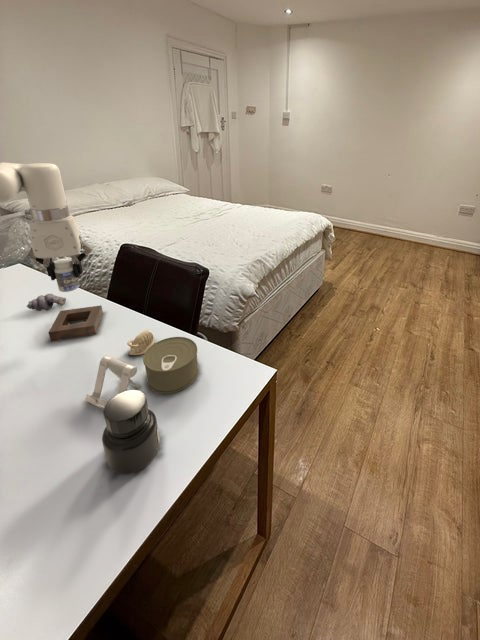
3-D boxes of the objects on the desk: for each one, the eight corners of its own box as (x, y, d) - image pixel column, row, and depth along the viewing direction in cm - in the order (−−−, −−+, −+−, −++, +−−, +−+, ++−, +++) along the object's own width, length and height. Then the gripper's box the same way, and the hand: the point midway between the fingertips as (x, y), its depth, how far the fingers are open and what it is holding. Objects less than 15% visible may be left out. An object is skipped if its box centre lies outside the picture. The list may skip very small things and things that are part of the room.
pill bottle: (67, 294, 87) (60, 266, 83) (55, 290, 88) (47, 262, 85) (83, 286, 91) (77, 259, 88) (71, 282, 92) (65, 256, 89)
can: (201, 356, 85) (200, 335, 83) (195, 392, 74) (193, 369, 72) (154, 359, 83) (151, 338, 81) (140, 397, 72) (136, 373, 70)
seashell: (68, 306, 106) (30, 316, 100) (65, 290, 106) (26, 300, 101) (66, 303, 101) (26, 314, 96) (63, 287, 102) (22, 297, 96)
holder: (50, 341, 88) (48, 332, 87) (62, 319, 97) (60, 310, 96) (96, 334, 92) (94, 325, 90) (103, 313, 101) (101, 305, 100)
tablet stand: (86, 403, 70) (79, 373, 67) (117, 378, 77) (112, 350, 74) (115, 417, 67) (109, 387, 64) (145, 390, 74) (140, 361, 71)
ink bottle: (171, 437, 64) (165, 391, 60) (141, 482, 56) (131, 433, 52) (129, 425, 66) (120, 380, 62) (94, 467, 58) (81, 419, 54)
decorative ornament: (159, 343, 89) (157, 327, 87) (134, 362, 82) (131, 345, 80) (148, 339, 91) (146, 323, 89) (123, 357, 84) (119, 341, 82)
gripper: (2, 219, 75) (23, 287, 82) (86, 215, 81) (99, 279, 88) (16, 211, 82) (34, 274, 88) (92, 207, 88) (104, 267, 94)
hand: (66, 276), depth 88 cm, fingers closed on pill bottle, 4 cm apart
